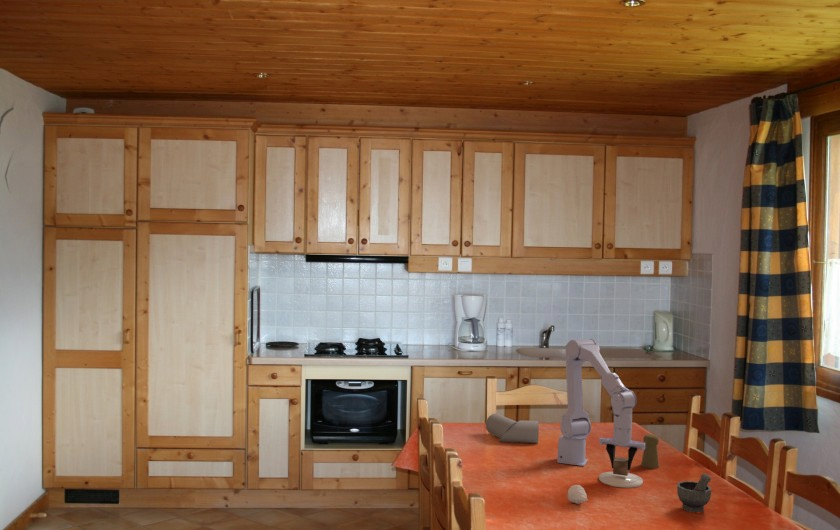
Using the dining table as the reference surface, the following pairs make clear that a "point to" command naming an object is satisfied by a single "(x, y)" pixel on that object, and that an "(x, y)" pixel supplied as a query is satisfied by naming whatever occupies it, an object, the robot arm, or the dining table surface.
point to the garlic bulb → (577, 494)
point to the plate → (621, 480)
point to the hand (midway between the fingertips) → (621, 468)
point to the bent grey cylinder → (512, 429)
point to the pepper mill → (650, 452)
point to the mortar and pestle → (694, 494)
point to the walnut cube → (620, 466)
